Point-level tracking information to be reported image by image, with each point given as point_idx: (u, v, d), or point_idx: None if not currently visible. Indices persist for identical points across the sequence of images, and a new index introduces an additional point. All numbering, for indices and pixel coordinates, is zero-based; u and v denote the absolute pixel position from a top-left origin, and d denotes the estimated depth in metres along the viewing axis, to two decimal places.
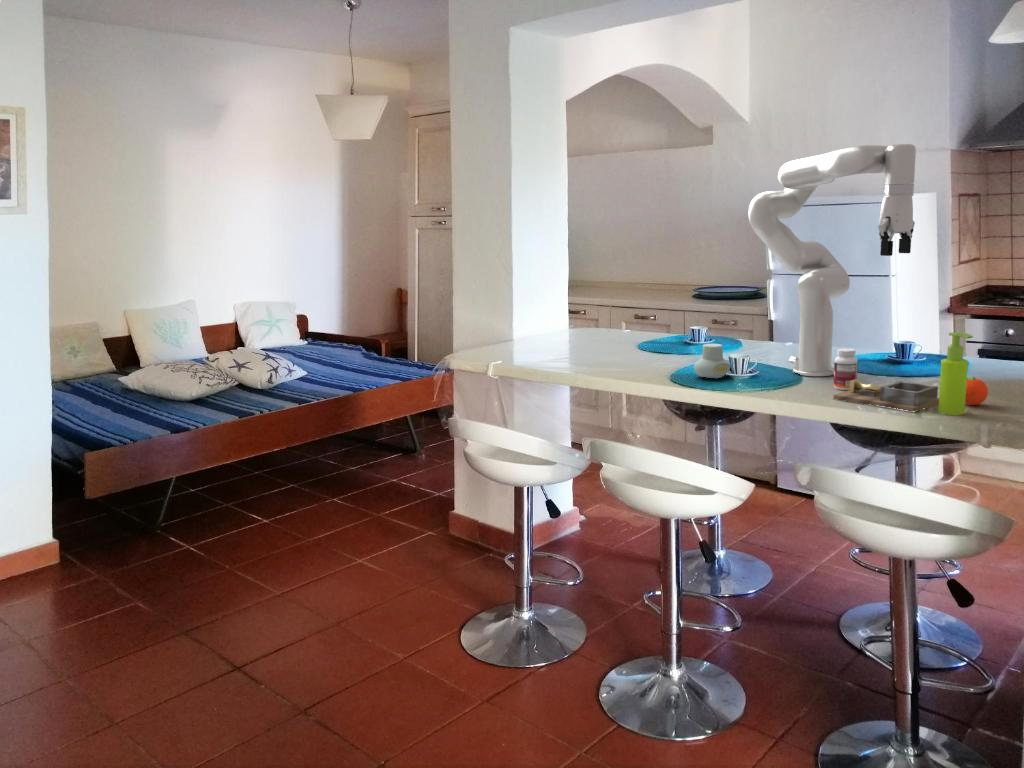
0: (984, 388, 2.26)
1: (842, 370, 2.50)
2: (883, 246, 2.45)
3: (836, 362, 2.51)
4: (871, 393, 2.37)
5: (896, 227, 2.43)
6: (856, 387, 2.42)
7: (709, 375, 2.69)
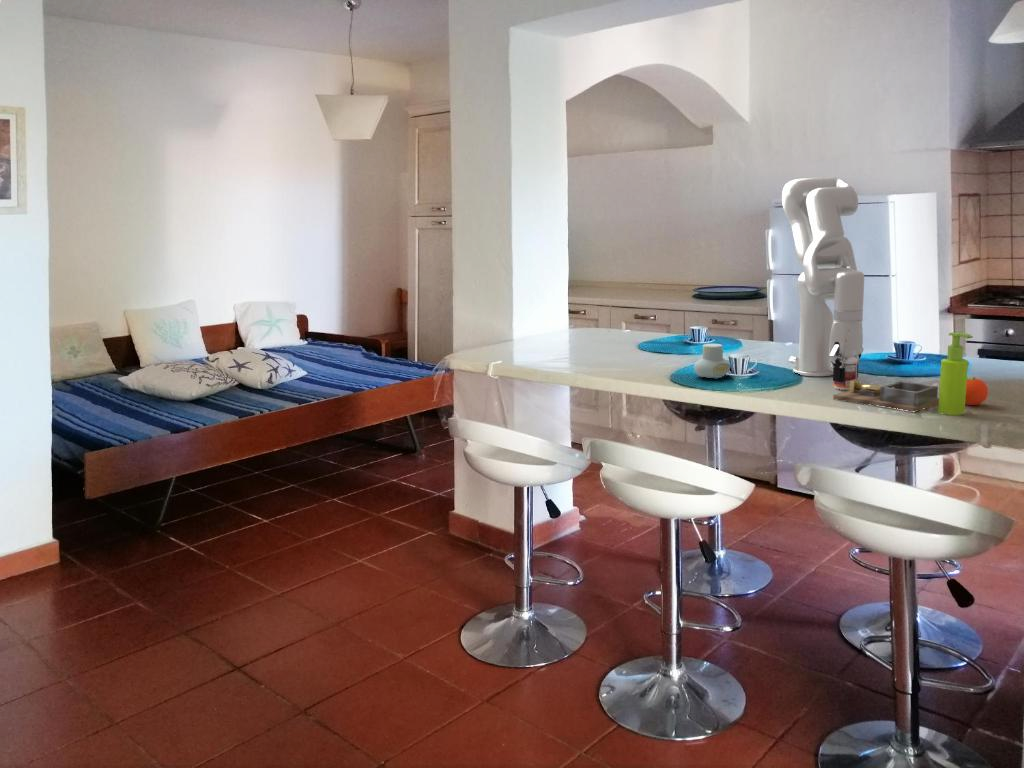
0: (984, 388, 2.26)
1: None
2: (835, 373, 2.50)
3: None
4: (871, 393, 2.37)
5: (845, 352, 2.47)
6: (856, 387, 2.42)
7: (709, 375, 2.69)
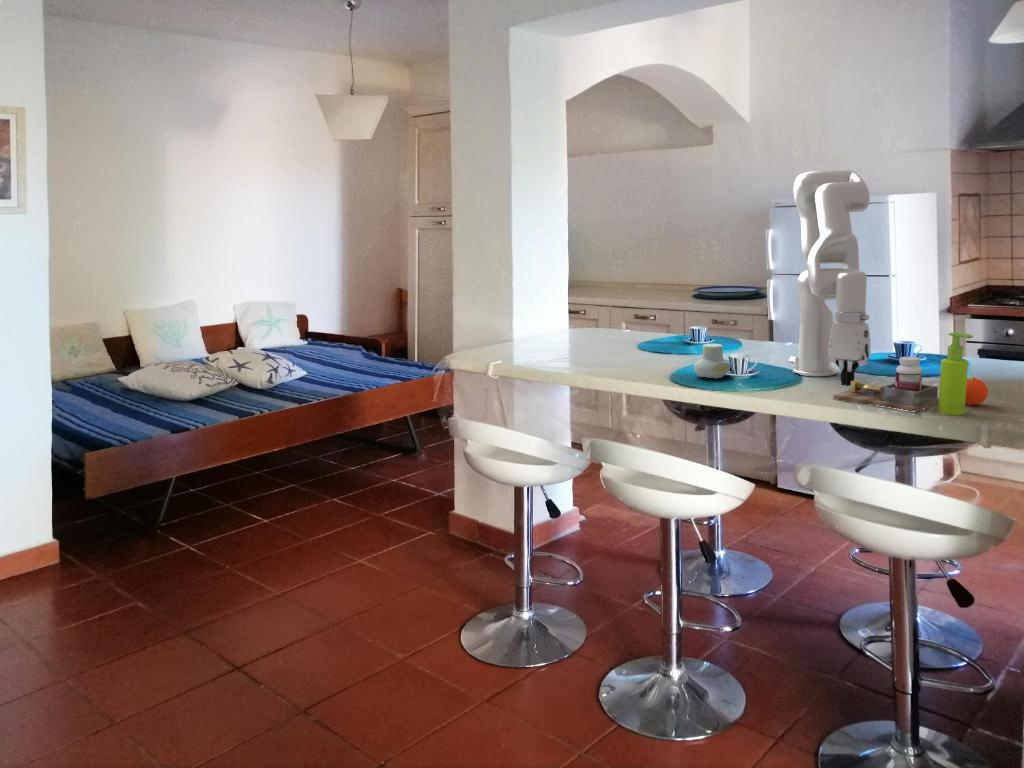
0: (984, 388, 2.26)
1: (905, 380, 2.28)
2: None
3: (898, 372, 2.30)
4: (871, 393, 2.37)
5: (830, 352, 2.45)
6: (857, 387, 2.41)
7: (709, 375, 2.69)
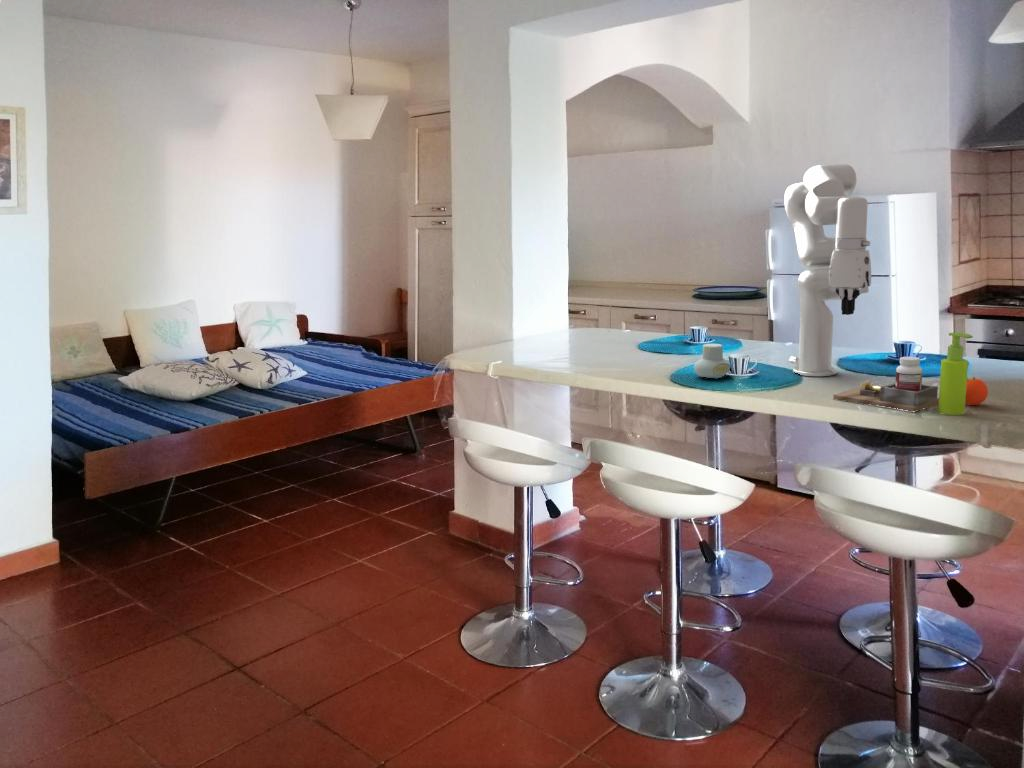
0: (984, 388, 2.26)
1: (905, 380, 2.28)
2: None
3: (898, 372, 2.29)
4: (871, 393, 2.37)
5: (831, 281, 2.41)
6: (867, 389, 2.39)
7: (709, 375, 2.69)
